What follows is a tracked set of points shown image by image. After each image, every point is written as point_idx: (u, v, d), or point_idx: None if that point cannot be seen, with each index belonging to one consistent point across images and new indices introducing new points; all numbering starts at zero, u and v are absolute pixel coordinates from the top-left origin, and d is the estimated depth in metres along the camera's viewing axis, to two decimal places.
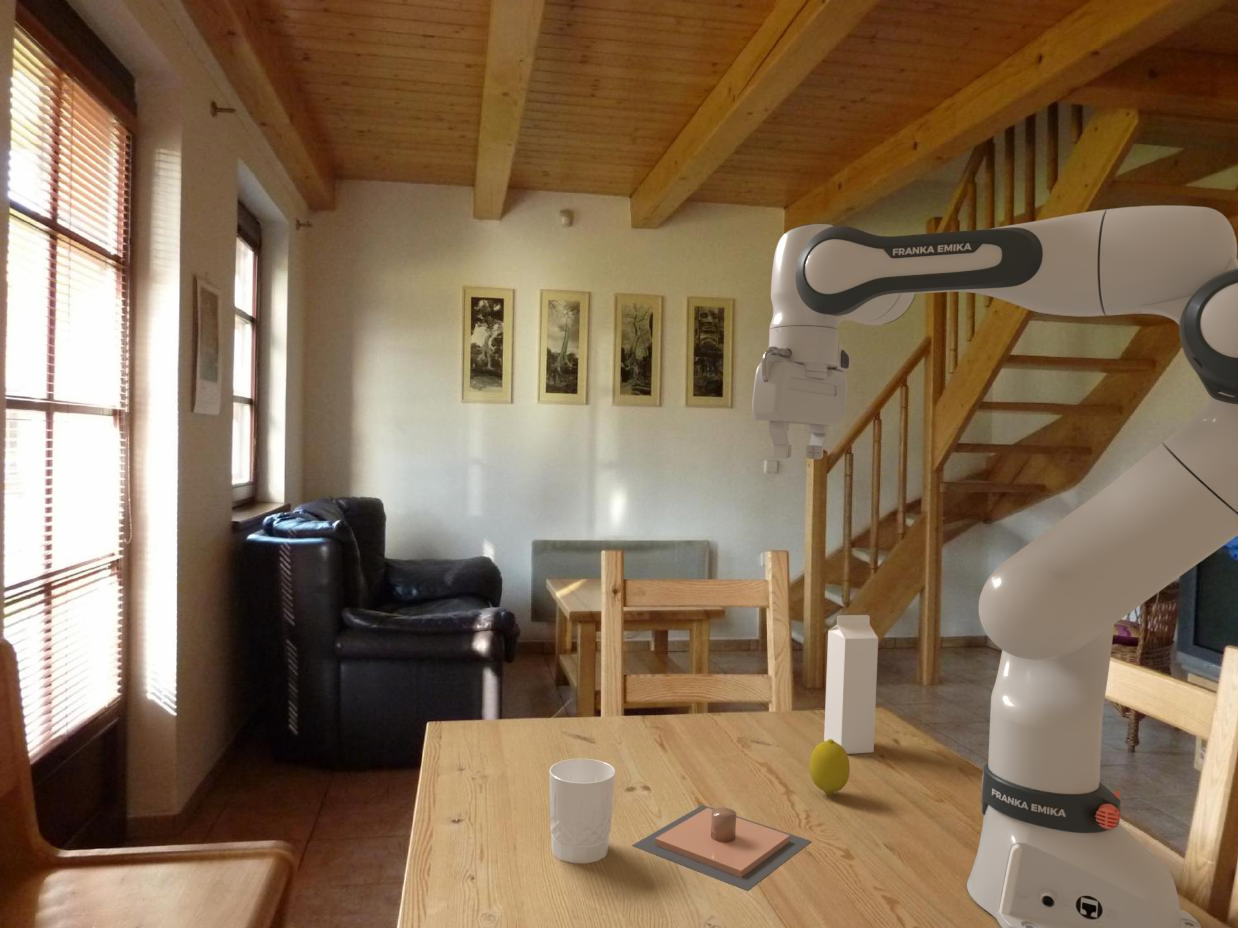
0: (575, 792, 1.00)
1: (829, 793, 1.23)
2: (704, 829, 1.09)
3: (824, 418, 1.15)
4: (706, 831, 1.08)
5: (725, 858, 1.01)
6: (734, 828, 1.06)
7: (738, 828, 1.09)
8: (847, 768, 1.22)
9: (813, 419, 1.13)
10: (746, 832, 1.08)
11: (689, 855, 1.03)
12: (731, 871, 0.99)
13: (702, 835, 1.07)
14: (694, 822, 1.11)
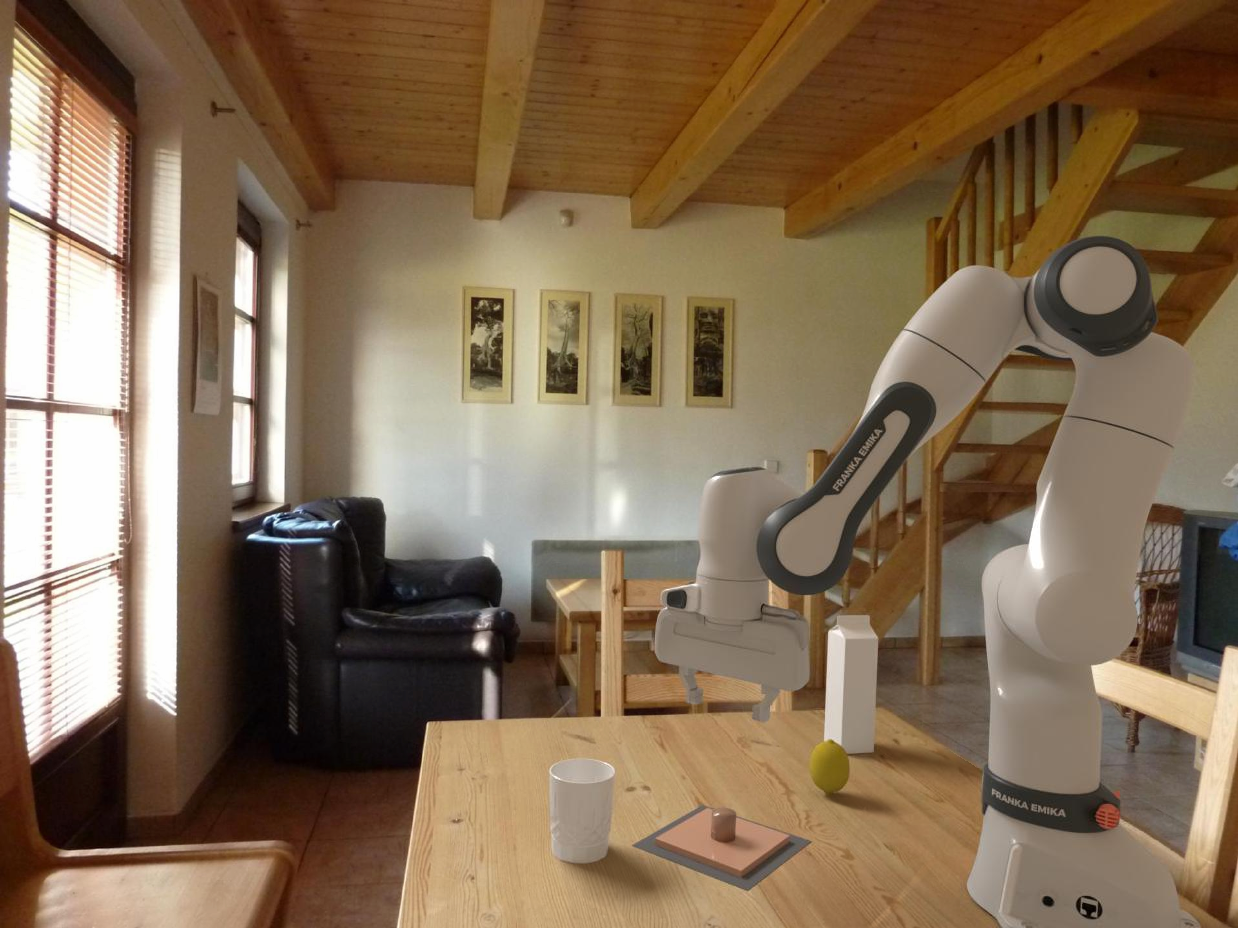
0: (575, 792, 1.00)
1: (829, 793, 1.23)
2: (704, 829, 1.09)
3: None
4: (706, 831, 1.08)
5: (725, 858, 1.01)
6: (734, 828, 1.06)
7: (738, 828, 1.09)
8: (847, 768, 1.22)
9: None
10: (746, 832, 1.08)
11: (689, 855, 1.03)
12: (731, 871, 0.99)
13: (702, 835, 1.07)
14: (694, 822, 1.11)
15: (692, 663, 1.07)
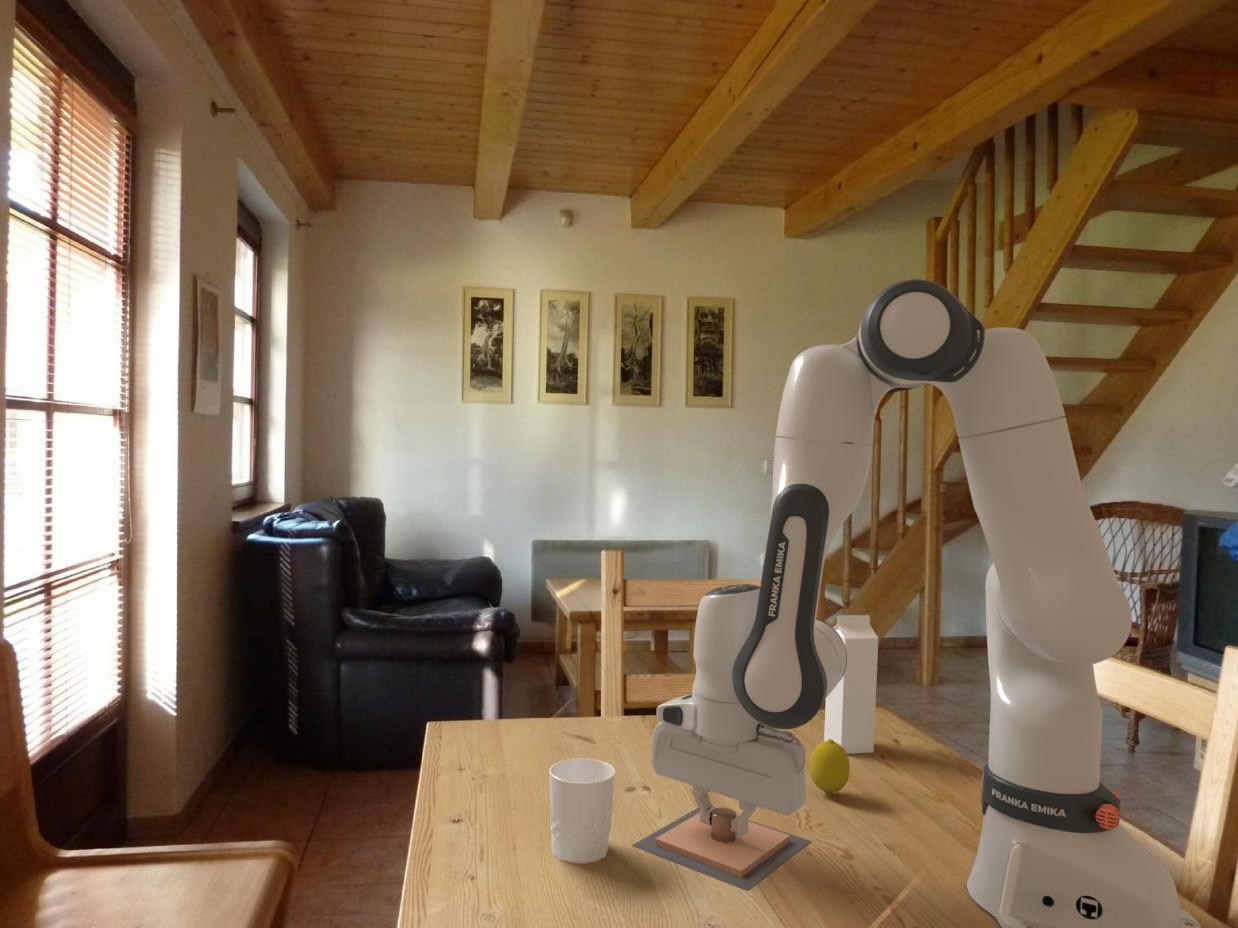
0: (575, 792, 1.00)
1: (829, 793, 1.23)
2: (704, 829, 1.09)
3: None
4: (706, 831, 1.08)
5: (725, 858, 1.01)
6: None
7: None
8: (847, 768, 1.22)
9: None
10: None
11: (689, 855, 1.03)
12: (731, 871, 0.99)
13: (702, 835, 1.07)
14: (694, 822, 1.11)
15: (689, 779, 1.08)
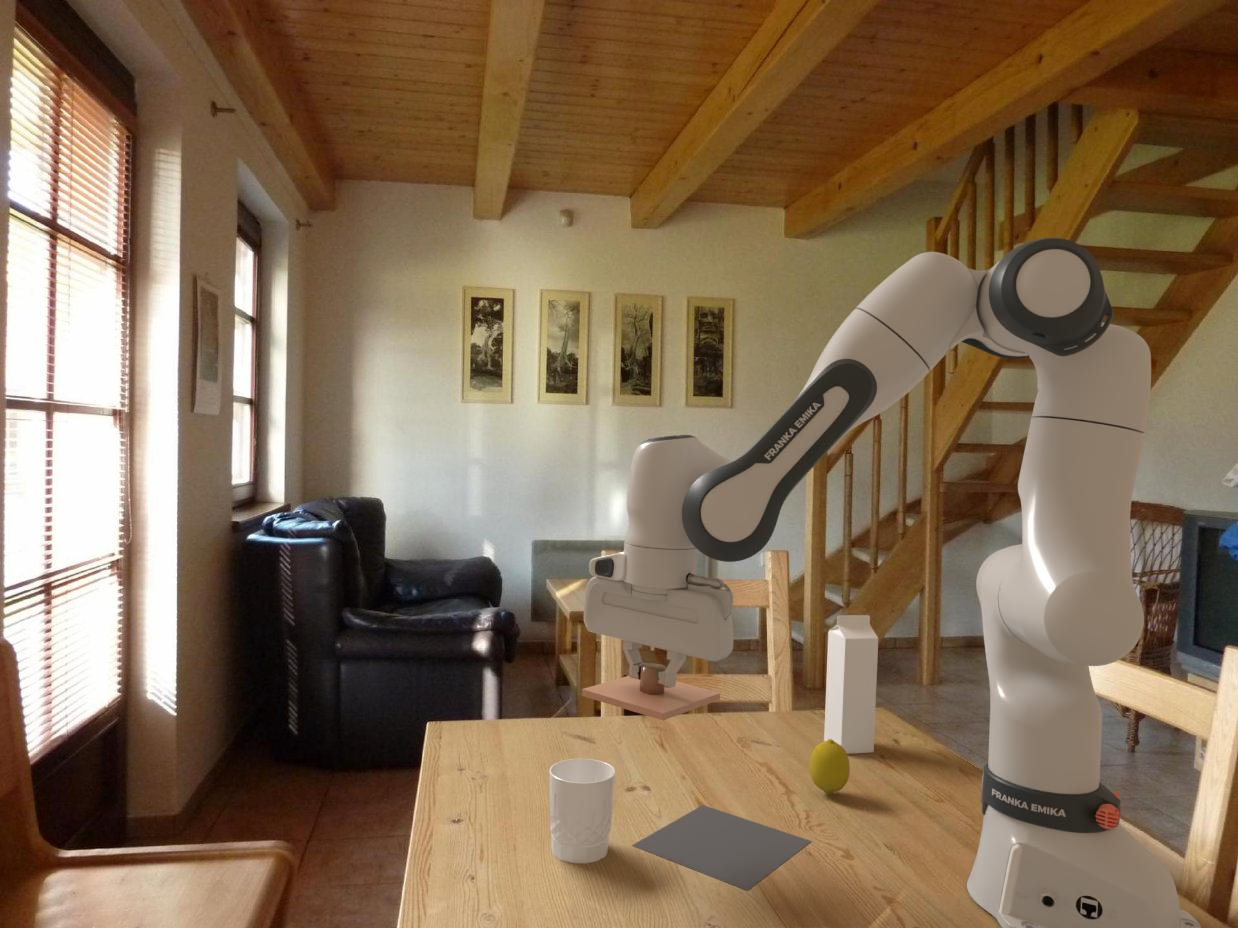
0: (575, 792, 1.00)
1: (829, 793, 1.23)
2: (634, 685, 1.07)
3: None
4: (635, 687, 1.07)
5: (649, 704, 1.00)
6: None
7: None
8: (847, 768, 1.22)
9: None
10: (676, 689, 1.07)
11: (614, 703, 1.01)
12: (654, 715, 0.98)
13: (631, 689, 1.05)
14: (625, 680, 1.09)
15: (619, 633, 1.06)
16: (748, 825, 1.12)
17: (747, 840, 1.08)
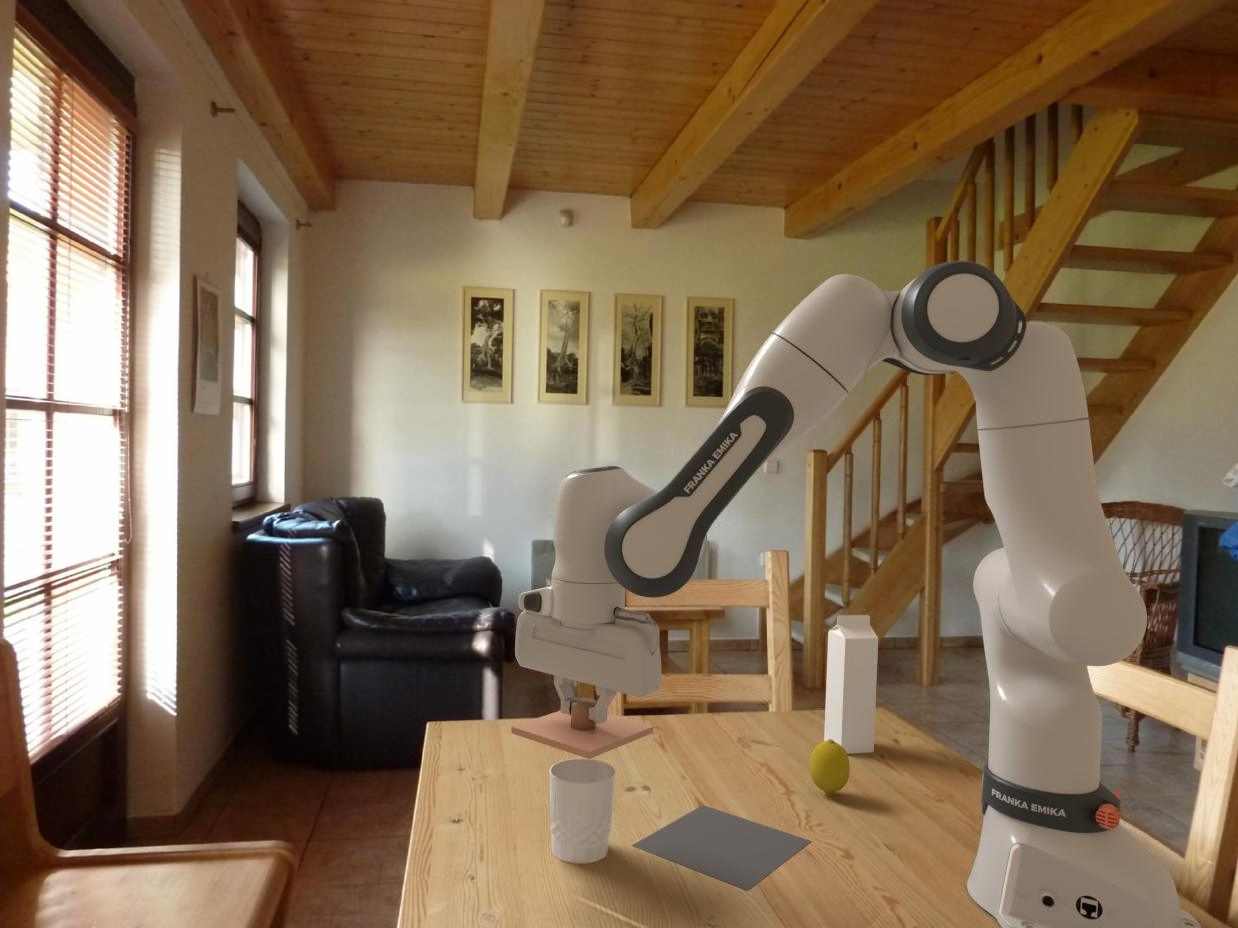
0: (575, 792, 1.00)
1: (829, 793, 1.23)
2: (566, 720, 1.05)
3: None
4: (567, 722, 1.05)
5: (577, 742, 0.98)
6: None
7: None
8: (847, 768, 1.22)
9: None
10: (609, 723, 1.05)
11: (542, 741, 0.99)
12: (580, 753, 0.96)
13: (562, 725, 1.04)
14: (558, 715, 1.07)
15: (549, 668, 1.05)
16: (748, 825, 1.12)
17: (747, 840, 1.08)
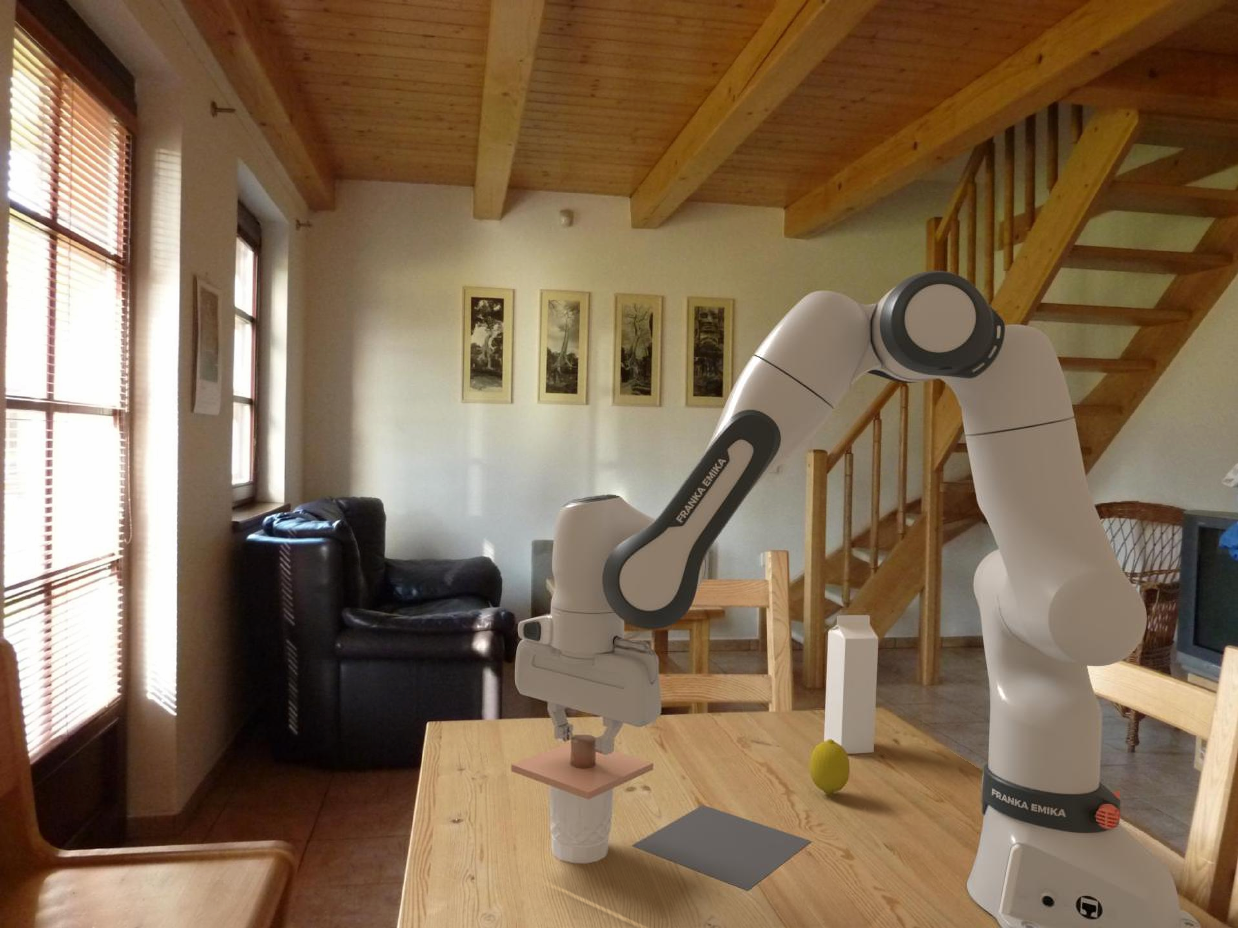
0: None
1: (829, 793, 1.23)
2: (566, 757, 1.05)
3: None
4: (567, 759, 1.05)
5: (577, 781, 0.98)
6: (593, 754, 1.03)
7: (602, 757, 1.06)
8: (847, 768, 1.22)
9: None
10: (609, 760, 1.05)
11: (542, 779, 1.00)
12: (579, 793, 0.96)
13: (562, 762, 1.04)
14: (558, 751, 1.07)
15: (549, 696, 1.05)
16: (748, 825, 1.12)
17: (747, 840, 1.08)
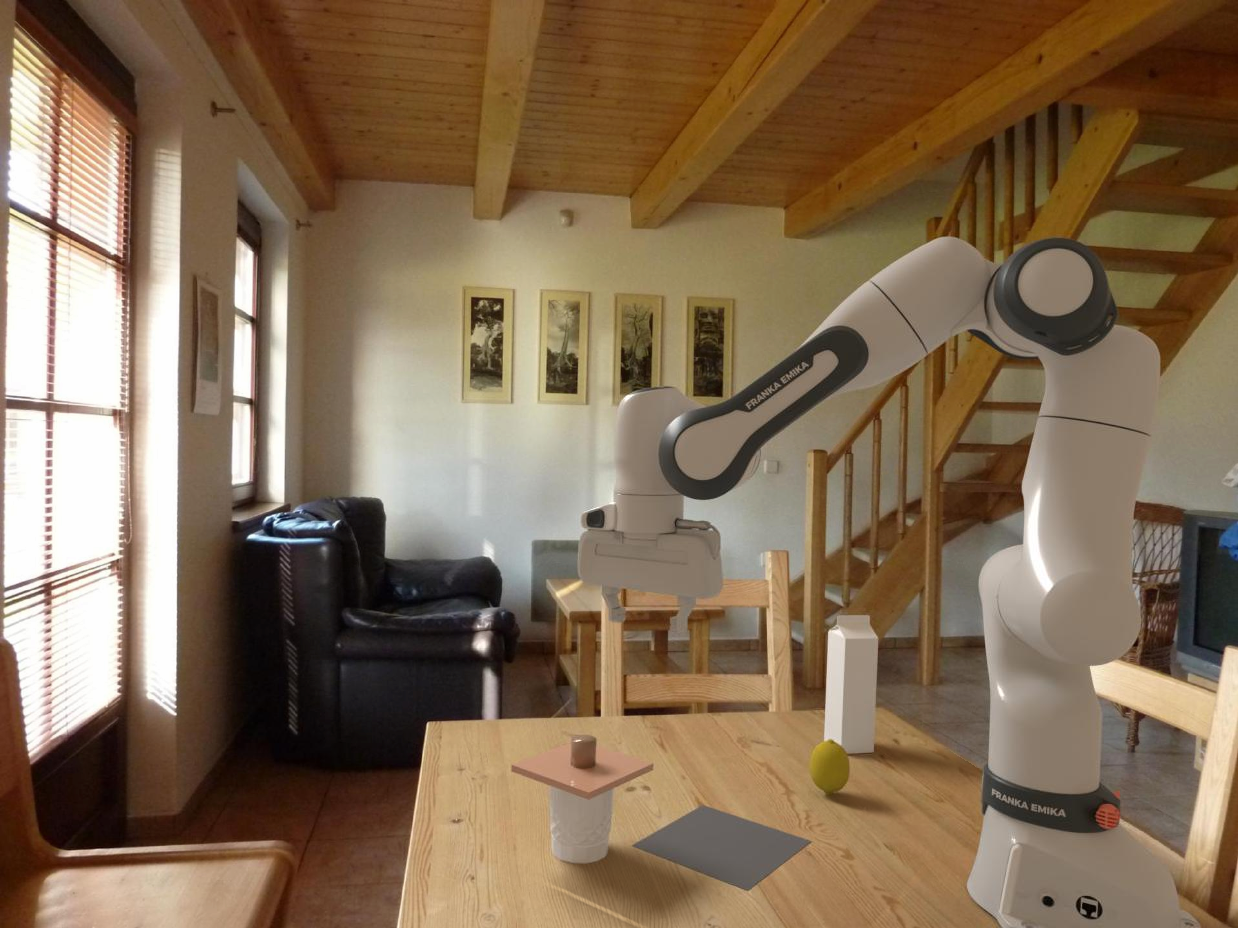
0: None
1: (829, 793, 1.23)
2: (566, 757, 1.05)
3: None
4: (567, 759, 1.05)
5: (577, 782, 0.98)
6: (593, 754, 1.03)
7: (602, 757, 1.06)
8: (847, 768, 1.22)
9: None
10: (609, 760, 1.05)
11: (542, 780, 1.00)
12: (580, 793, 0.96)
13: (562, 762, 1.04)
14: (559, 751, 1.07)
15: (613, 581, 1.10)
16: (748, 825, 1.12)
17: (747, 840, 1.08)
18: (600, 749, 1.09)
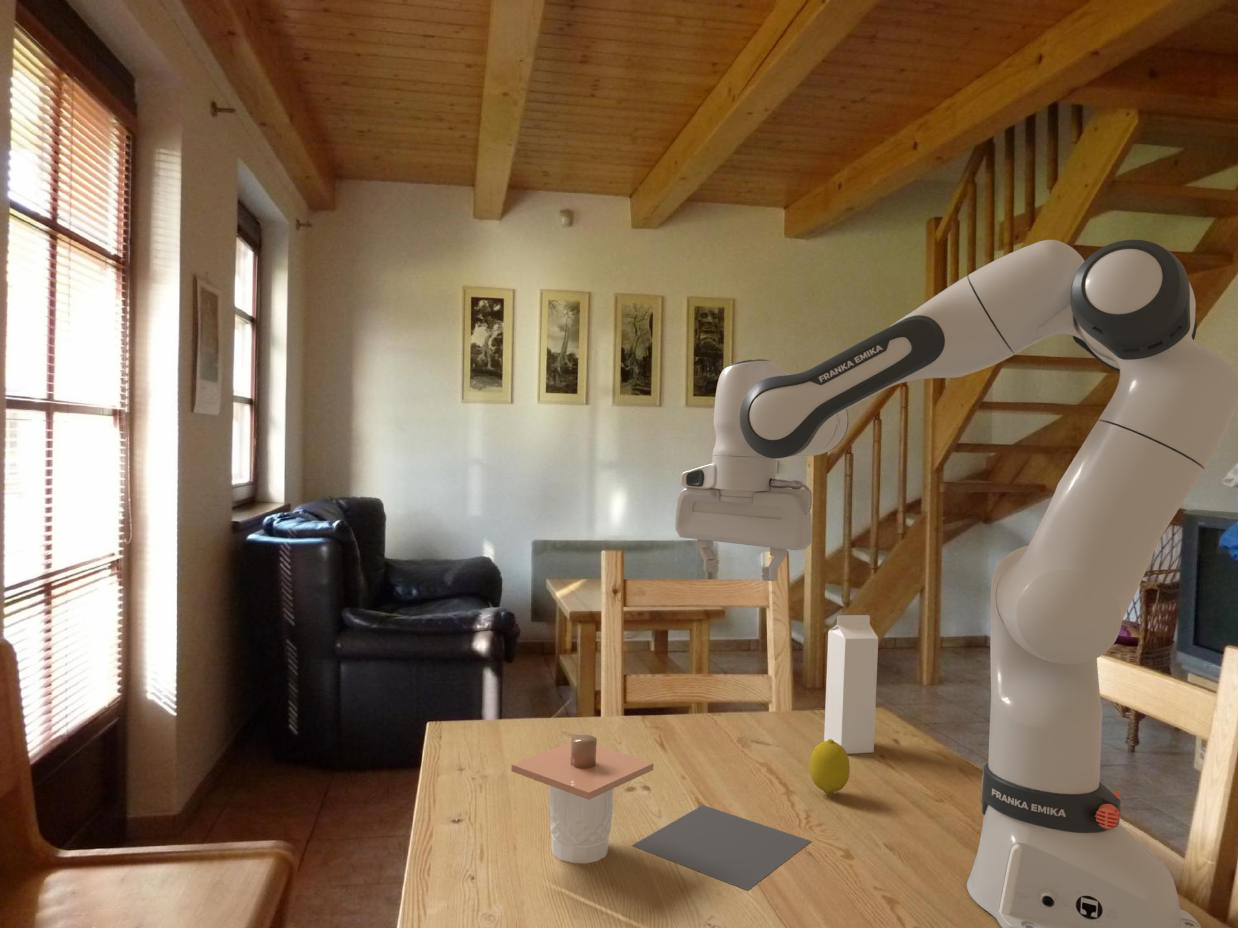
0: None
1: (829, 793, 1.23)
2: (566, 757, 1.05)
3: None
4: (567, 759, 1.05)
5: (577, 782, 0.98)
6: (593, 754, 1.03)
7: (602, 757, 1.06)
8: (847, 768, 1.22)
9: None
10: (609, 760, 1.05)
11: (542, 780, 1.00)
12: (580, 794, 0.96)
13: (562, 762, 1.04)
14: (559, 751, 1.07)
15: (709, 535, 1.22)
16: (748, 825, 1.12)
17: (747, 840, 1.08)
18: (600, 749, 1.09)
